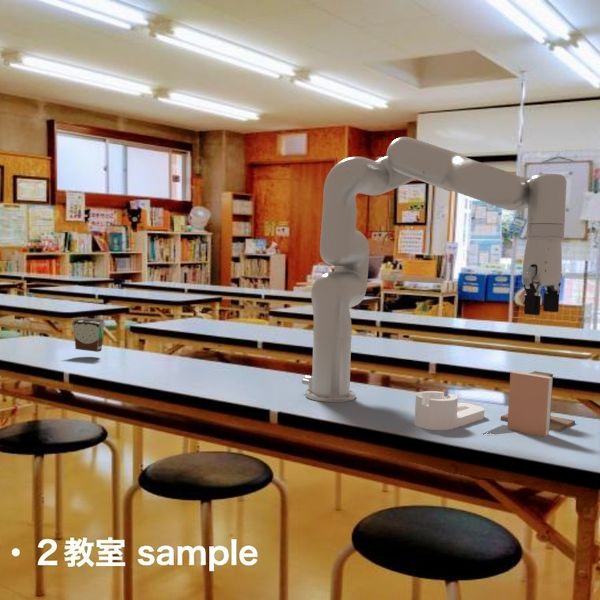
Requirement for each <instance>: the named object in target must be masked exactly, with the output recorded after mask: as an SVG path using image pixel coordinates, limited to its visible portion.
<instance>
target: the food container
mask: <svg viewBox="0 0 600 600" xmlns="http://www.w3.org/2000/svg"><path fill="white" fill-rule="evenodd" d="M71 326H73V334H74V347H75V349H74V350H78V351H80V350H81V351H87V352H88V351H89V352H94V353H99V352H102V347H103V337H104V329H105V328H106V327H107V326H106V322H105V320H104V319H103V318H102V319H101V318H87V317H86V318H73V319H72V324H71Z"/></svg>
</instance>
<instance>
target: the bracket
mask: <svg viewBox="0 0 600 600" xmlns="http://www.w3.org/2000/svg"><path fill="white" fill-rule="evenodd" d="M458 398H459V397H458V396H457V395H456V394H453V393H448V394H447V395H446V398H445V392H444V391H436V390H435V391H434V390H429V391H427V390H426V391H425V390H424V391H418V392H416V394H415V402H414V403H415V407H414V425H415V426H416V427H419V428H421V429H426V430H431V431H432V430H433V431H447V430H448V431H449V429H450V430H454V429H457V428H459V426H460V427H462V426H465V425H469V424H472V423H474V422H475V423H476V422H478V421H481V420H483V419H485V408H484V407H482V406H480V405H477V404H473V403H467V402H459V401H458ZM453 428H454V429H453Z"/></svg>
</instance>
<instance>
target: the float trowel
mask: <svg viewBox="0 0 600 600" xmlns="http://www.w3.org/2000/svg"><path fill="white" fill-rule="evenodd" d="M529 374H535V375H542V376H548V377H552V384H553V383H554V381H553V379H554V373H549V372H543V371H536V370H535V371H531V372H529ZM552 395H553V391H552V392H551V400H552V398H553V397H552ZM551 413H552V406H551V407H550V423H549V430H552V431H557V432H561V431H562V430H565V429H566V428H570V427H571V426H572V425H574V424H575V425H576V420H573V419H568V418H564V417H563V418H562V417H559V416H553V415H551ZM500 421H504V422H508V413H506V414H504V415H501V416H500Z"/></svg>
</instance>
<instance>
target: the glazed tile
mask: <svg viewBox="0 0 600 600" xmlns="http://www.w3.org/2000/svg"><path fill="white" fill-rule="evenodd" d="M529 373H530V372H529ZM529 373H528V372H521V371H517V370H514V371H511V372H510V373H509V374H510V376H509V391H508V394H509V395H508V409H507V414H508V421H507V429H510V430H515V431H519V432H520V433H525V434H530V435H534V436H535V435H536V436H540V437H547V436H549V435H550V429H549V423H550V416H551V414H550V407H551V408H552V399H551V392H552V393H553V383H552V377H548V376H542V375H535V374H529ZM519 432H518V433H519Z"/></svg>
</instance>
